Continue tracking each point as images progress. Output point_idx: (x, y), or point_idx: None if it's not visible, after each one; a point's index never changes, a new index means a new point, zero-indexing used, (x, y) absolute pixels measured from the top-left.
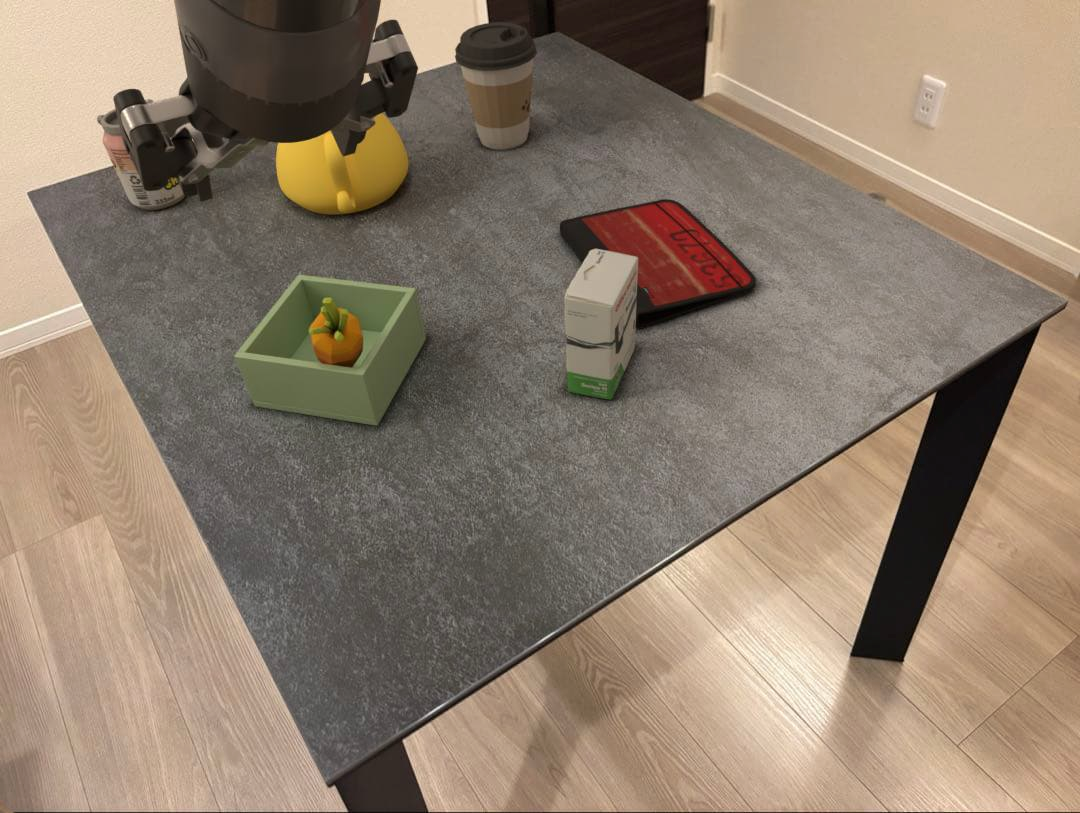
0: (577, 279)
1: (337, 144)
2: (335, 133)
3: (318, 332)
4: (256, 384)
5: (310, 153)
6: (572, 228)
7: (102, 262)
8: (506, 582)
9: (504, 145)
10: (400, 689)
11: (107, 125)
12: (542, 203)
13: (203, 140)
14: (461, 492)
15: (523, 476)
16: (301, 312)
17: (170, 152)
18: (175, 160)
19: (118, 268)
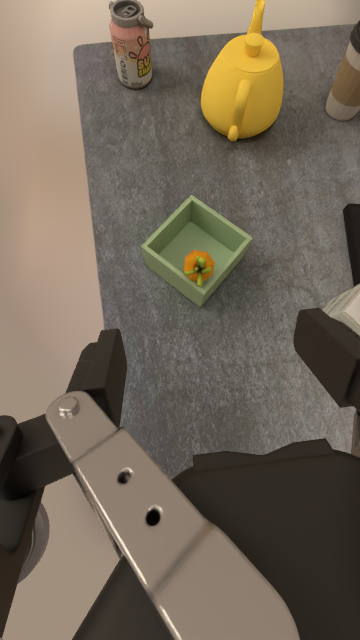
0: (357, 301)
1: (296, 331)
2: (305, 332)
3: (189, 274)
4: (148, 260)
5: (226, 90)
6: (354, 213)
7: (95, 120)
8: (229, 437)
9: (338, 117)
10: (164, 472)
11: (113, 14)
12: (342, 177)
13: (105, 530)
14: (226, 371)
15: (260, 376)
16: (185, 217)
17: (52, 462)
18: (59, 468)
19: (102, 128)
